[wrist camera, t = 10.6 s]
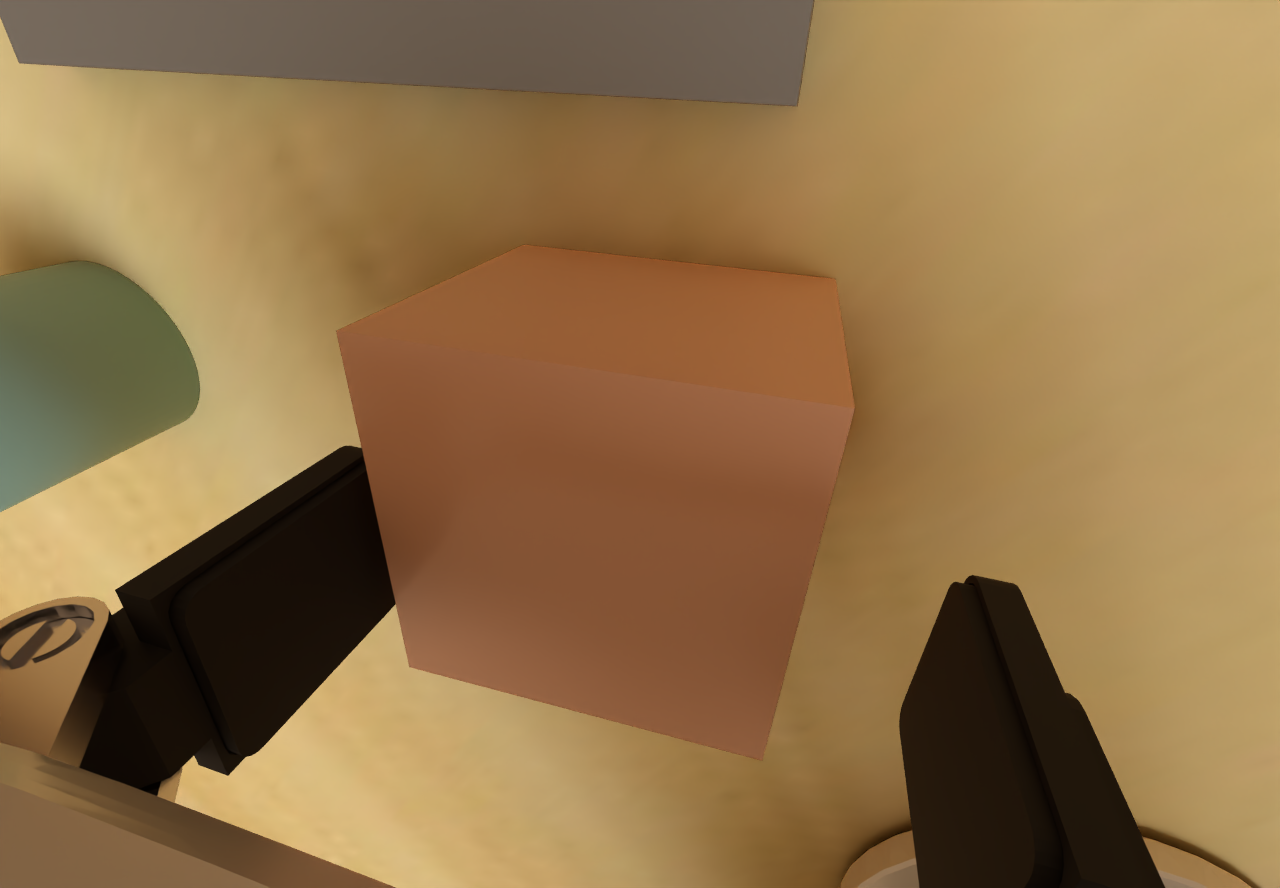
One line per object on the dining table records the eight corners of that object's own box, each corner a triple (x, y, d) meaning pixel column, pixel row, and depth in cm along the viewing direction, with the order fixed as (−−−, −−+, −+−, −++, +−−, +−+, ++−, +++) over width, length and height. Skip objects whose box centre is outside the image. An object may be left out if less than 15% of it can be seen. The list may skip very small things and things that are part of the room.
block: (835, 277, 11) (855, 408, 6) (778, 537, 15) (761, 760, 10) (525, 243, 13) (336, 330, 8) (536, 491, 16) (409, 667, 11)
